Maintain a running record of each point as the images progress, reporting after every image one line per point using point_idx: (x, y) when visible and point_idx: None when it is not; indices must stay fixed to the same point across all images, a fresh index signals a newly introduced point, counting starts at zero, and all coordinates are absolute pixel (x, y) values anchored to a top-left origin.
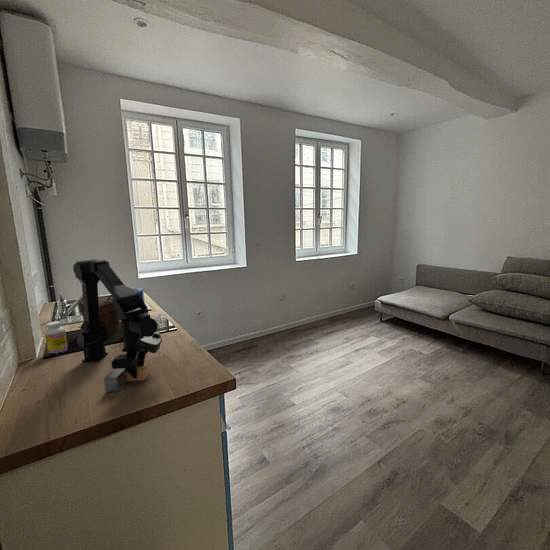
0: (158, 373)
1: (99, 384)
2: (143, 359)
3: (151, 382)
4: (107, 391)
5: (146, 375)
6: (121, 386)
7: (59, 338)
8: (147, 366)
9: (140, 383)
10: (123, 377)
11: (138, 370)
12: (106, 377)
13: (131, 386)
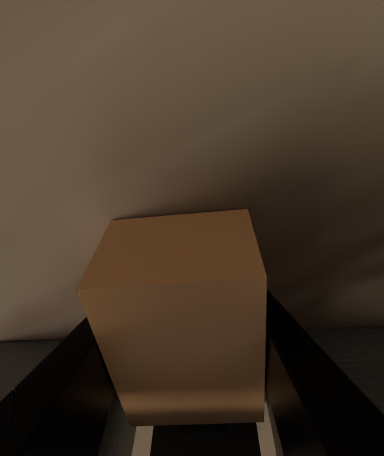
0: (84, 94)
1: (268, 447)
2: (32, 435)
3: (323, 79)
4: None
5: (167, 221)
6: (375, 341)
7: None
8: (85, 282)
9: (316, 212)
10: None
11: (222, 340)
12: None
13: (356, 269)
